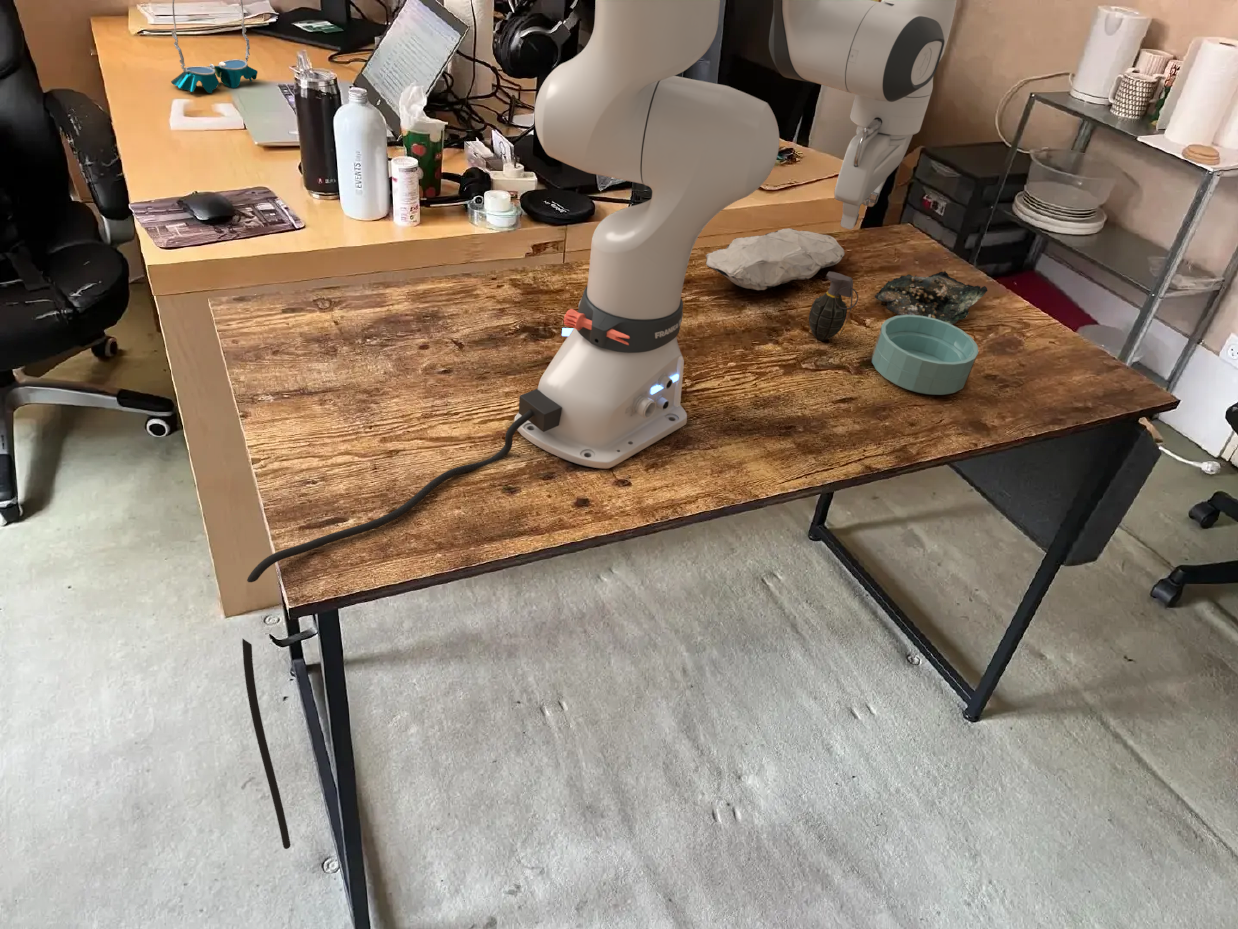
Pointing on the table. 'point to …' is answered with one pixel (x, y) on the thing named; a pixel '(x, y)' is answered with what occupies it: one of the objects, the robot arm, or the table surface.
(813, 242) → the stone
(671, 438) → the table surface
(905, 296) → the decorative rock
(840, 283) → the grenade
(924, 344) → the bowl
